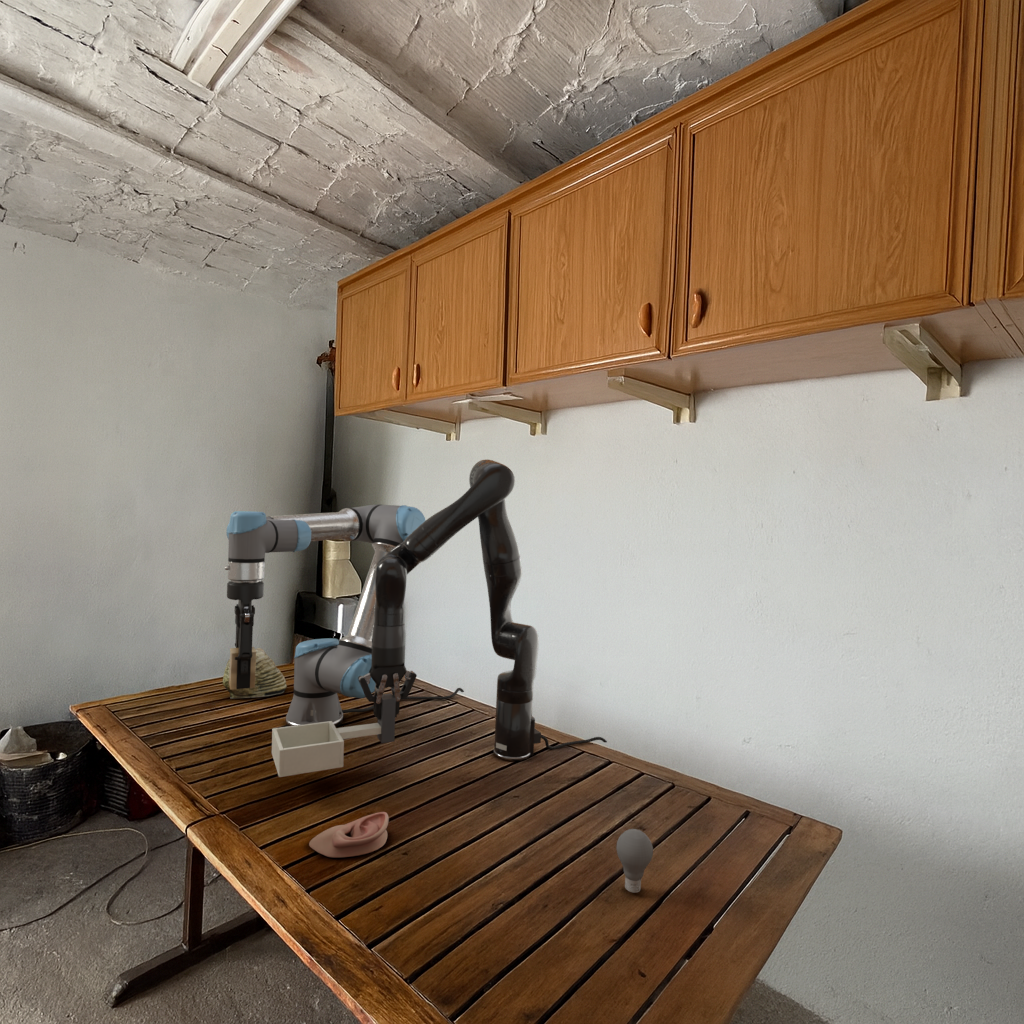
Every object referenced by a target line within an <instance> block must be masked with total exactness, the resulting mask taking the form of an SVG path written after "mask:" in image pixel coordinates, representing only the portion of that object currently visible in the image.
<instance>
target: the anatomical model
mask: <svg viewBox="0 0 1024 1024" xmlns="http://www.w3.org/2000/svg"><path fill="white" fill-rule="evenodd" d="M389 817H390V816H389V814H388V813H387V812H385V811H380V812H374V813H371V814H369V815H364V816H362V817H360V818H358V819H355V820H353V821H350V822H348V823H345V824H339V825H335V826H332V827H329V828H327V829H325V830H323V831H322V832H320V833H318V834H316V835H315V836H314V837H313V838H312V839H311V840H309V843H308V846H309V847H310V848H311V849H312V850H313V851H315V852H316V853H318V854H320V855H323V856H325V857H327V858H333V859H334V858H335V859H336V858H339V859H340V858H349V857H357V856H362V855H366V854H369V853H373V852H374V851H377V850H379V849H380V848H382V847H383V846H384V845H385V844H386V842H387V839H388V831H387V828H388V825H389V821H390V818H389Z"/></svg>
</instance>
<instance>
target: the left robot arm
mask: <svg viewBox="0 0 1024 1024" xmlns="http://www.w3.org/2000/svg"><path fill="white" fill-rule="evenodd" d="M426 520H427V519H426V517H425V515H424V513H423V512H422V511H421V510H420V509H419V508H417V507H415V506H408V505H406V504H404V505H403V504H402V505H397V504H380V503H379V504H367V505H361V506H354V507H344V508H342V509H341V510H339V511H336V512H333V511H332V512H319V513H317V512H316V513H302V514H301V513H300V514H283V515H282V514H281V515H268V516H267V514H266V513H265V512H264V511H254V510H253V511H252V510H251V511H249V510H248V511H247V510H245V511H244V510H237V511H233V512H231V514H230V517H229V522H228V524H227V527H226V531H225V532H226V537H227V540H228V548H227V549H228V551H227V552H228V553H227V554H228V555H227V557H228V558H227V561H228V562H227V564H228V565H225V566H224V570H225V571H227V579H228V580H229V581H228V582H227V583H226V598H227V599H229V600H233V601H238V602H237V603H236V604H235V605H234V614H235V617H234V623H235V643H234V646H235V647H234V648H239V653H238V657H235V660H237V683H236V689H244V688H250V671H251V658H252V647H253V634H254V633H253V629H254V624H255V622H254V621H255V620H254V619H255V615H256V607H255V605H253V603H252V601H253V600H260V599H262V598H263V597H264V587H265V586H264V585H265V583H264V581H262V580H263V579H265V568H266V567H265V565H266V562H265V561H266V554H269V553H270V554H271V553H291V552H292V553H295V552H300V551H305V550H306V549H308V547H309V545H311V542H320V541H321V542H322V541H331V540H342V541H344V542H363V543H370V544H371V547H372V548H373V550H374V554H373V557H372V560H371V563H370V566H369V569H368V572H367V574H366V578H365V581H364V584H363V587H362V590H361V593H360V595H359V599H358V602H357V605H356V608H355V611H354V614H353V617H352V620H351V624H350V626H349V629H348V632H347V634H346V635H345V636H342V637H341V638H339V639H338V638H335V637H334V638H331V637H329V638H315V639H308V640H304V641H301V642H299V643H298V644H297V645H296V646H295V652H294V656H293V659H294V661H293V662H294V663H293V664H294V668H293V695H292V696H293V697H292V699H291V702H290V704H289V708H288V711H287V713H286V715H285V727H288V726H296V725H304V724H312V723H319V722H327V721H332V722H333V724H334V725H335V727H336V728H338V727H339V726H340V725H342V723H343V722H344V714H349V713H365V712H369V711H371V710H372V711H373V710H374V704H373V705H371V706H369V707H365V708H349V709H342V706H341V702H340V699H339V695H342V696H344V697H347V698H355V699H365V698H366V696H365V694H364V692H363V689H362V687H361V685H360V683H359V680H358V677H359V676H364V675H366V674H368V673H369V670H370V669H371V662H372V633H373V627H374V607H375V602H376V591H375V570H376V565H377V563H378V562H379V561H380V559H382V558H383V557H384V556H385V555H386V554H387V553H389V552H390V551H391V550H392V549H394V548H395V547H396V546H398V545H399V544H401V543H402V542H403V541H404V540H405V539H406V538H407V537H408V536H409V535H410V534H412V532H413V531H414V530H415V529H416V528H418V527H419V526H420V525H421V524H422V523H423V522H425V521H426ZM375 684H376V683H375V682H374V680H373V679H372V678H370V683H369V684H368V686H369V689H370V691H371V693H372V694H373V693H375ZM458 692H460V693H464V692H465V690H464V689H463V688H462V687H457V688H456V689H455V691H454V692H453V693H451V694H449V695H446V696H411V695H410V696H409V695H408V697H407V698H403V699H401V700H400V701H402V700H403V701H404V700H419V701H420V700H422V701H423V700H430V701H431V700H434V701H435V700H436V701H438V700H439V701H441V700H443V701H444V700H449V699H452V698H454V697H455V696H456V695H458ZM338 694H339V695H338Z"/></svg>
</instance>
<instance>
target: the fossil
mask: <svg viewBox="0 0 1024 1024" xmlns="http://www.w3.org/2000/svg"><path fill="white" fill-rule="evenodd" d="M255 650H256V671H255V688H245V689H234V690H230V686H229V667H230V658H229V659H228V660H227V663H226V666H225V668H224V671H223V675H222V676H223V677H222V685H223V687H224V688H225V690H226V691H228V693H229V698H230V699H250V698H264V697H271V696H275V695H281V694H284V693H285V691H286V689H287V687H288V686H287V680H286V678H285V676H284V674H283V673H282V672H281V669H279V668H278V667H277V665H276V663H275V662H274V660H273V659H272V658H271V657H270V656H269V655H268V654H267V653H266V652H265V650H264V649H263V648H260V647H258V648H255Z"/></svg>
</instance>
